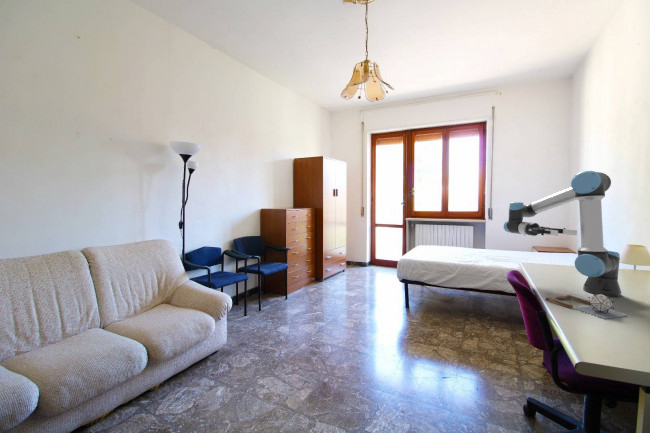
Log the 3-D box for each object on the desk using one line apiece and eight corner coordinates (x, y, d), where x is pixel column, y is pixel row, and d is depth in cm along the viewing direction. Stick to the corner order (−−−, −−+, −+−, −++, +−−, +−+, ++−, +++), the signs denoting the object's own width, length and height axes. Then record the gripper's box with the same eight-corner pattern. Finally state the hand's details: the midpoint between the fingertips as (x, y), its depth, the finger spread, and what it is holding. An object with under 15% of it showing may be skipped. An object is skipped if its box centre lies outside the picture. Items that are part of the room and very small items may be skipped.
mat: (595, 306, 140) (595, 305, 140) (627, 316, 129) (627, 315, 129) (573, 308, 136) (573, 308, 136) (604, 319, 125) (604, 318, 125)
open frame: (569, 297, 152) (569, 295, 152) (594, 305, 142) (594, 302, 141) (545, 300, 148) (545, 297, 147) (569, 308, 137) (569, 305, 137)
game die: (605, 321, 131) (624, 308, 125) (585, 312, 133) (603, 299, 126) (598, 305, 138) (616, 292, 132) (579, 297, 139) (596, 284, 133)
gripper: (544, 234, 183) (583, 239, 163) (512, 235, 176) (548, 240, 156) (545, 222, 183) (584, 225, 162) (513, 222, 176) (549, 226, 155)
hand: (567, 233), depth 159 cm, fingers open, 13 cm apart
